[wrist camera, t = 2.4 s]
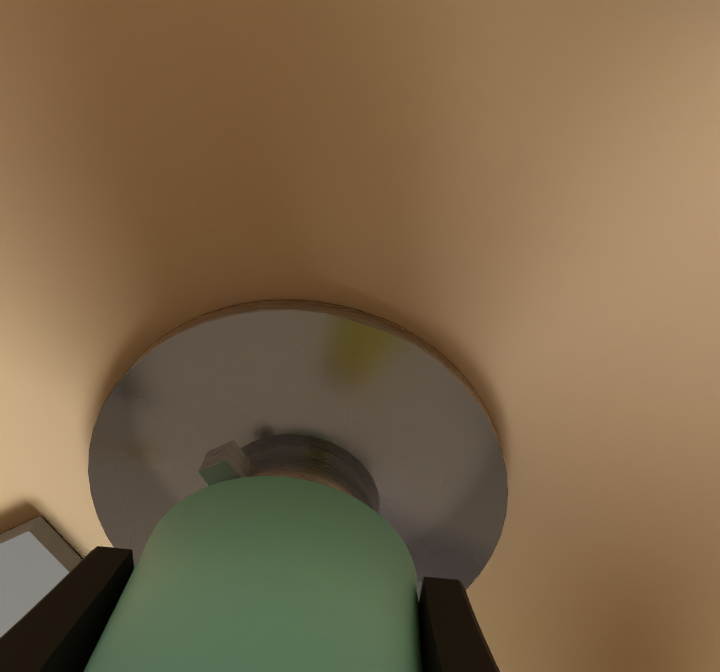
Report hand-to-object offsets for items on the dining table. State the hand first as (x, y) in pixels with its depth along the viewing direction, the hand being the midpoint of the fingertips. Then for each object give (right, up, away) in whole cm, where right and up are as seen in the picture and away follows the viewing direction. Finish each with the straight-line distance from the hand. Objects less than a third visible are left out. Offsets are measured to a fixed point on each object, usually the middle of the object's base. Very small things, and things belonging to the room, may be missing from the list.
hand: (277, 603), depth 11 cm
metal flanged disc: (0, +1, +3) cm, 3 cm away
